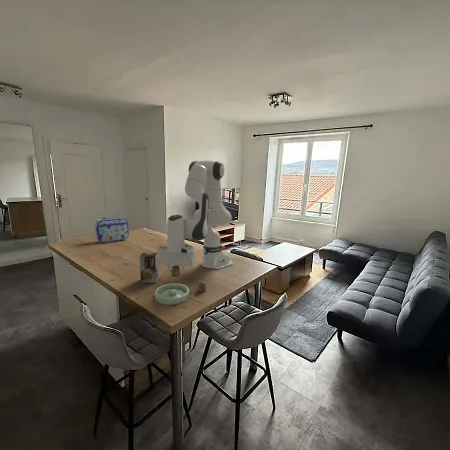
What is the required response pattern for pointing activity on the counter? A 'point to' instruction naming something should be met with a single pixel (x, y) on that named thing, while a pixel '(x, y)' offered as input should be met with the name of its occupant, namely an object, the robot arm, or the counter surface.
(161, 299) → the tray
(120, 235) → the lunch box
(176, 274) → the bead
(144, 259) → the coffee box
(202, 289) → the brown short cylinder
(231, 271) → the counter surface
